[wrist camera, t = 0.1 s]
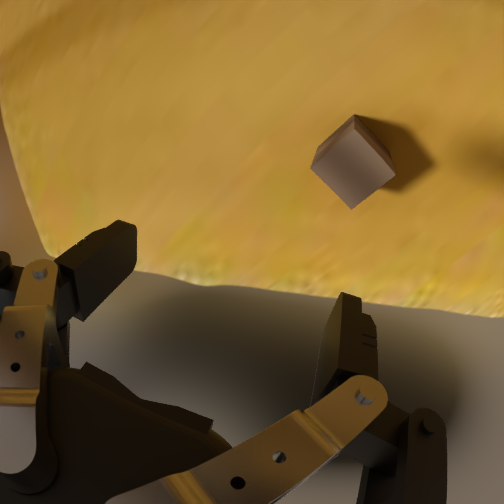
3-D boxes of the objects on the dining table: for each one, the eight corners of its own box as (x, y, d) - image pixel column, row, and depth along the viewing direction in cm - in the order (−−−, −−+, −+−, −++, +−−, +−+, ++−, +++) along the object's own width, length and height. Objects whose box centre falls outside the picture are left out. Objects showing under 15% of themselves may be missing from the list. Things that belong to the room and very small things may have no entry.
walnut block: (354, 114, 27) (354, 128, 22) (389, 151, 28) (396, 174, 23) (317, 147, 30) (310, 168, 25) (352, 181, 31) (351, 209, 26)
